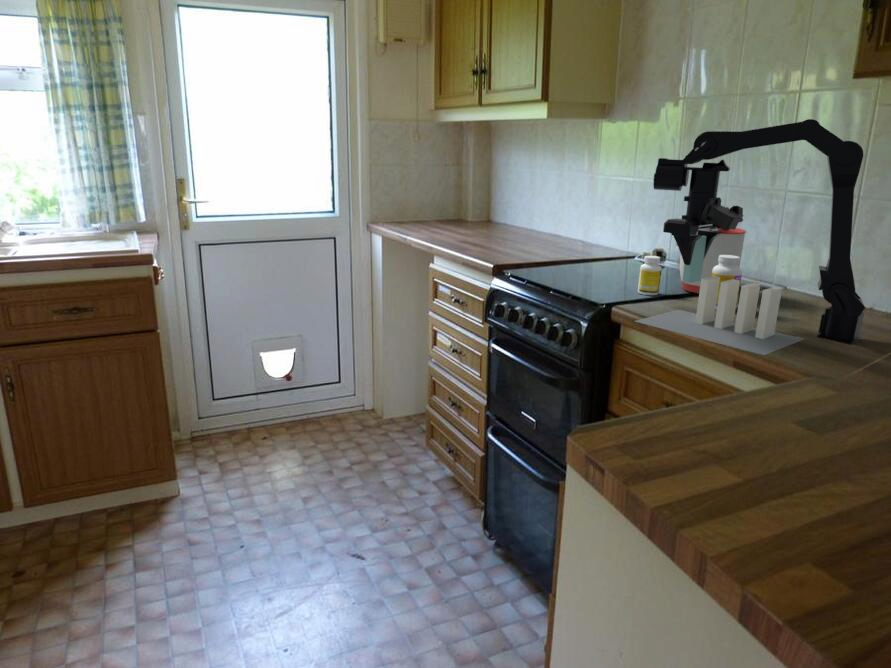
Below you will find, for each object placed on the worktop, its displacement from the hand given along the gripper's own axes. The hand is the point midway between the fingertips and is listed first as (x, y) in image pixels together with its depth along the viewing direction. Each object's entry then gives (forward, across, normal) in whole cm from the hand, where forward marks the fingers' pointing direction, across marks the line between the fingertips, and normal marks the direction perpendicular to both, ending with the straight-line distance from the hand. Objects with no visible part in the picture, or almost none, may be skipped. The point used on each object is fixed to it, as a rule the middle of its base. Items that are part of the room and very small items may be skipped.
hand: (693, 263), depth 147 cm
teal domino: (+4, 0, 0) cm, 4 cm away
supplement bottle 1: (+13, +15, +20) cm, 28 cm away
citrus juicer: (+13, +30, +13) cm, 35 cm away
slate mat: (+13, -4, -9) cm, 16 cm away
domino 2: (+12, 0, -9) cm, 15 cm away
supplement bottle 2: (+13, +16, 0) cm, 21 cm away
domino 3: (+12, 0, -13) cm, 18 cm away
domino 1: (+12, 0, -4) cm, 13 cm away
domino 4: (+12, 0, -18) cm, 22 cm away
